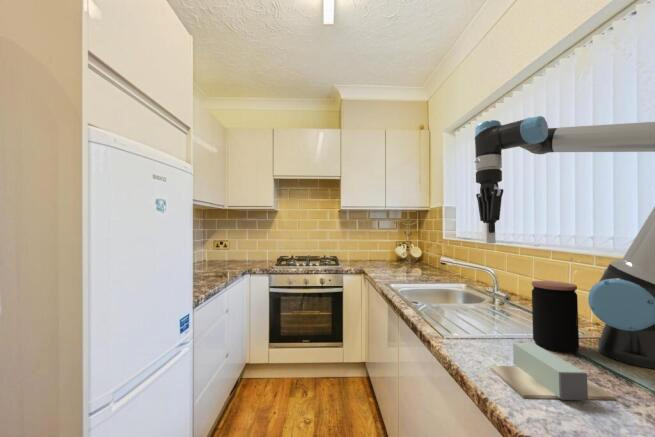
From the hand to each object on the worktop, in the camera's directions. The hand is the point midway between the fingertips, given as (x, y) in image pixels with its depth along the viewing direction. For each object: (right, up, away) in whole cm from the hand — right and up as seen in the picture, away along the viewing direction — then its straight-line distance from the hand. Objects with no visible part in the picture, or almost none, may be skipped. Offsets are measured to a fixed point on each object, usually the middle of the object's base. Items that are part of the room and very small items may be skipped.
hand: (490, 243), depth 97 cm
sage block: (-4, -25, -22) cm, 34 cm away
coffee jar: (+14, -29, -10) cm, 34 cm away
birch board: (-4, -28, -31) cm, 42 cm away
